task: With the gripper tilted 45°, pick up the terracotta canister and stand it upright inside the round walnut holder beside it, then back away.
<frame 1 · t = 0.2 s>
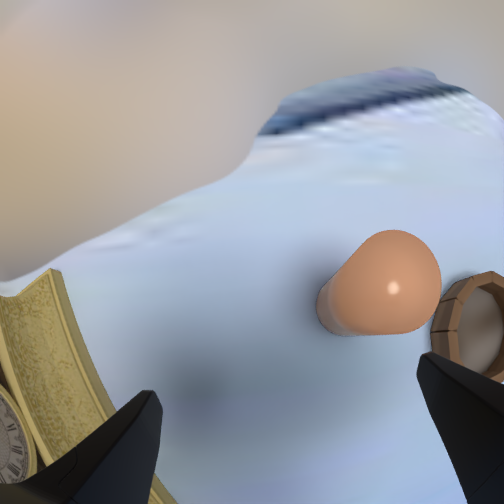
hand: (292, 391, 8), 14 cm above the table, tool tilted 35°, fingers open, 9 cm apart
terracotta canister: (345, 305, 23), on the table
decorative clock: (71, 419, 22), on the table
walnut holder: (473, 332, 21), on the table
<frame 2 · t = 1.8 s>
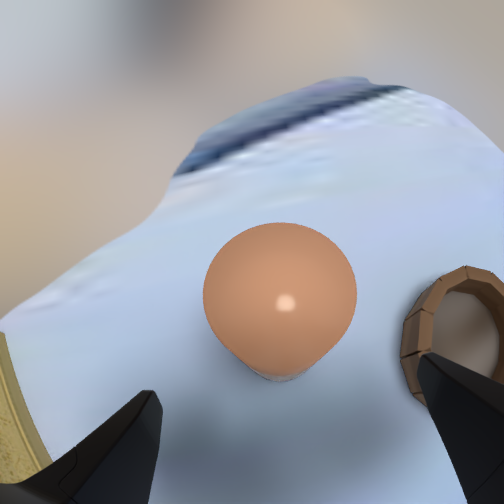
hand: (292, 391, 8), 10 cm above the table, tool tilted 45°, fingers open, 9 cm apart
terracotta canister: (280, 345, 19), on the table
decorative clock: (24, 479, 14), on the table
walnut holder: (459, 346, 17), on the table
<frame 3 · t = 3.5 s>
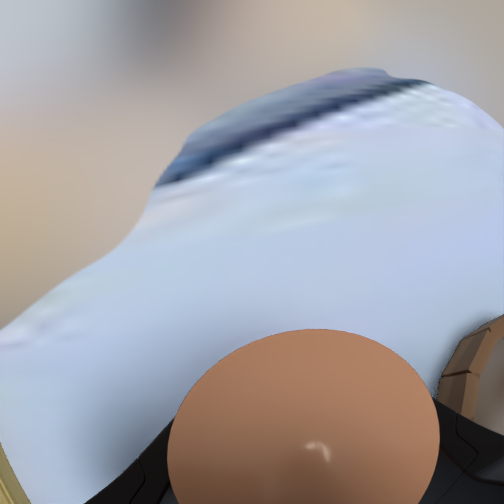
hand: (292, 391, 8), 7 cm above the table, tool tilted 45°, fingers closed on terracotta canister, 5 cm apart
terracotta canister: (290, 415, 14), on the table, touching gripper
walnut holder: (495, 399, 12), on the table
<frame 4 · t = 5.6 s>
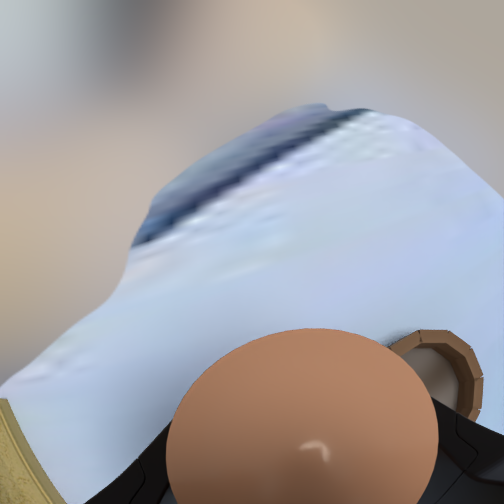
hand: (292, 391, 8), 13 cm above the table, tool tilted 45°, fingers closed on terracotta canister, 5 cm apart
terracotta canister: (289, 415, 14), point 7 cm above the table, touching gripper
walnut holder: (414, 399, 19), on the table
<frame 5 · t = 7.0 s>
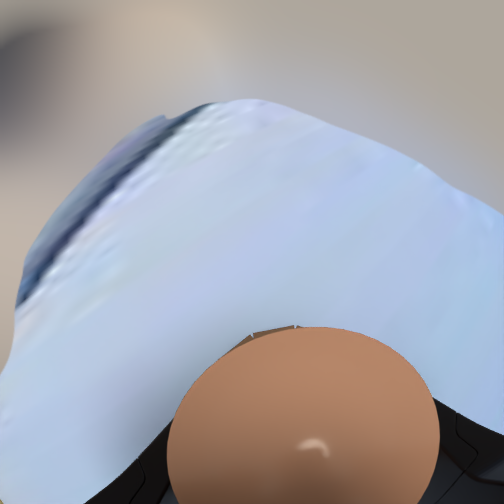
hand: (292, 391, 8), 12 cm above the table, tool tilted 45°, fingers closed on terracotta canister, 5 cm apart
terracotta canister: (289, 414, 14), point 5 cm above the table, touching gripper
when the fingers open (8 cm above the table, at t = 8.0 s): terracotta canister drops 1 cm, resting on walnut holder.
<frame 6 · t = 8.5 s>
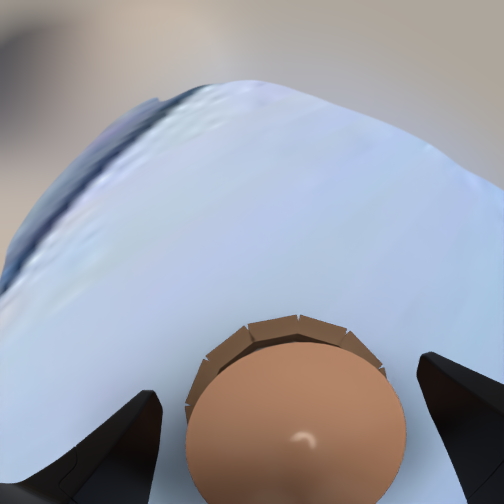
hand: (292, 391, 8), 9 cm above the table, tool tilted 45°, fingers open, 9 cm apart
terracotta canister: (288, 414, 15), point 1 cm above the table, touching walnut holder
walnut holder: (289, 412, 15), on the table
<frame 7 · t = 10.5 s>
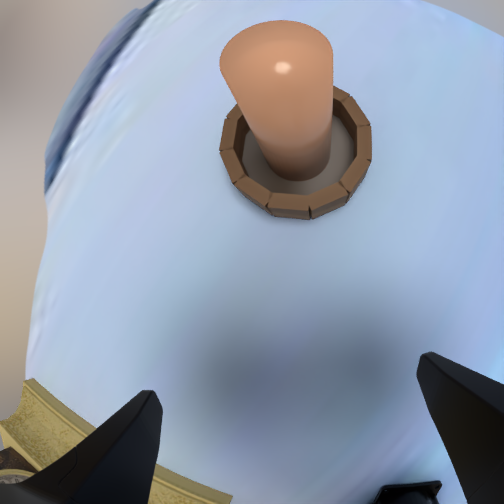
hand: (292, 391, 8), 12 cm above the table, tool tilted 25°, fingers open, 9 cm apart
terracotta canister: (297, 150, 21), point 1 cm above the table, touching walnut holder
decorative clock: (111, 471, 24), on the table
walnut holder: (298, 152, 22), on the table
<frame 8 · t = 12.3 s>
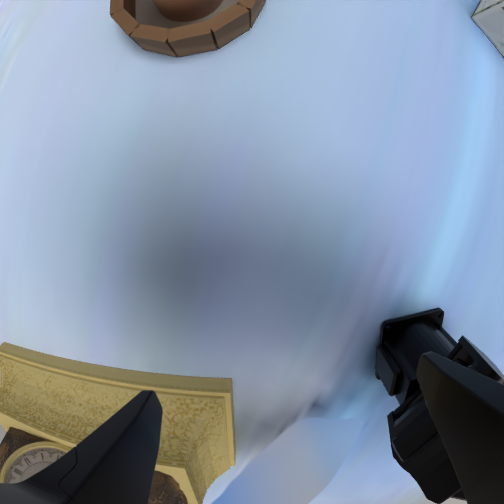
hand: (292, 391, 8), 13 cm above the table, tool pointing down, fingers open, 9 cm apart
syrup box: (492, 27, 14), on the table
decorative clock: (109, 405, 26), on the table
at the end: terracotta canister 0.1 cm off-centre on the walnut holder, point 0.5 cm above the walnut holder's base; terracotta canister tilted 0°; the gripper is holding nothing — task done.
